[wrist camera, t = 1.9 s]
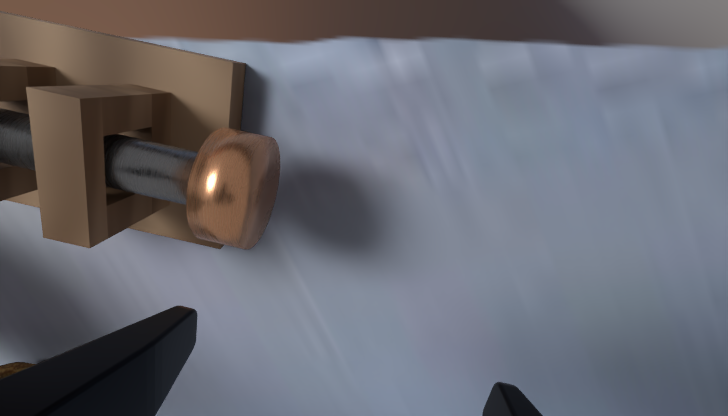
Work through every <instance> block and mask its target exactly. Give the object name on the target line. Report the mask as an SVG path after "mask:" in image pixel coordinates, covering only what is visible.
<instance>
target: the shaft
mask: <svg viewBox="0 0 728 416" xmlns="http://www.w3.org/2000/svg"><path fill="white" fill-rule="evenodd" d="M103 141H104V162H105V183H106V187H110V188H114V189H118V190H123V191H127V192H132V193H136V194H141V195H145V196H149V197H154V198H158V199H163V200H167V201H172V202H176V203H180V204H185V205H186V212H187V220H188V224H189V227H190V229H191V231H192V233H193V234H194V236H196V237H197V238H199V239H202V240H207V241H211V242H216V243H220V244H224V245H229V246H233V247H237V248H242V249H250V248H252V247H253V246H254V245H255V244H256V243H257V242H258V241H259V239H260V237H261V236H262V234H263V232H264V230H265V228H266V226H267V224H268V221H269V218H270V216H271V213H272V210H273V206H274V202H275V199H276V194H277V189H278V183H279V175H280V153H279V147H278V144H277V142H276V140H275V139H274V138H272V137H268V136H263V135H258V134H254V133H249V132H245V131H240V130H236V129H231V128H226V127H222V128H219V129H217V130H215V131H214V132H213V133H212V134H210V135H209V137H208V138H207V139H206V140H205V142H204V143H203V145H202V146H201V148H200V150H199V152H197V151H192V150H188V149H183V148H179V147H174V146H170V145H165V144H161V143H156V142H152V141H147V140H143V139H138V138H134V137H129V136H125V135H120V134H112V135H107V136H103ZM0 163H3V164H8V165H12V166H17V167H21V168H25V169H30V170H34V171H36V170H35V161H34V152H33V144H32V135H31V126H30V118H29V114H25V113H21V112H16V111H12V110H7V109H3V108H0Z"/></svg>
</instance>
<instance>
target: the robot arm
mask: <svg viewBox="0 0 728 416" xmlns="http://www.w3.org/2000/svg"><path fill="white" fill-rule="evenodd" d="M196 331H197V312H196V310H195V309H192V308H188V307H184V306H175V307H173V308H170V309H168V310H165V311H163V312H160V313H158V314H156V315H153V316H151V317H148V318H146V319H144V320H141V321H139V322H136V323H134V324H132V325H129V326H127V327H124V328H122V329H120V330H117V331H115V332H112V333H110V334H108V335H105V336H103V337H100V338H98V339H96V340H93V341H91V342H88V343H86V344H84V345H81V346H79V347H76V348H74V349H72V350H69V351H67V352H64V353H62V354H60V355H57V356H55V357H52V358H50V359H48V360H45V361H43V362H40V363H38V364H36V365H33V366H31V367H28V368H26V369H24V370H21V371H19V372H16V373H14V374H12V375H9V376H7V377H4V378H2V379H0V416H155V415H156V413H157V412H158V410H159V408H160V407H161V405H162V403H163V401H164V400H165V398H166V396H167V394H168V393H169V391H170V389H171V387H172V385H173V384H174V382H175V380H176V378H177V377H178V375H179V373H180V371H181V370H182V368H183V366H184V364H185V363H186V361H187V359H188V357H189V355H190V354H191V352H192V350H193V348H194V345H195V342H196ZM482 416H542V414H541V413H540V412H539V411H538V410H537V409H536V408H535V407H534V405H533V404H532V403H531V402H530V401H529V400H528V399H527V398H526V396H525V395H524V394H523V393H522V392H521V391H520V390H519V389H518V388H517V387H516V386H514V385H510V384H506V383H502V382H497V383H495V384H494V386H493V388H492V390H491V393H490V395H489V397H488V400H487V402H486V405H485V407H484V410H483V415H482Z"/></svg>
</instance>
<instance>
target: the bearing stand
mask: <svg viewBox="0 0 728 416" xmlns="http://www.w3.org/2000/svg"><path fill="white" fill-rule="evenodd" d="M245 67H246V63H241V62H236V61H232V60H227V59H222V58H218V57H213V56H208V55H204V54H199V53H194V52H190V51H185V50H180V49H176V48H171V47H166V46H162V45H157V44H152V43H148V42H143V41H138V40H134V39H129V38H124V37H120V36H115V35H110V34H105V33H100V32H96V31H92V30H87V29H82V28H78V27H73V26H68V25H63V24H59V23H54V22H50V21H45V20H40V19H36V18H31V17H26V16H21V15H17V14H12V13H8V12H2V11H0V108H3V109H7V110H12V111H16V112H21V113H25V114H29V118H30V126H31V135H32V144H33V152H34V161H35V170H36V171H34V170H30V169H25V168H21V167H17V166H12V165H8V164H3V163H0V201H2V200H8V201H12V202H17V203H21V204H25V205H30V206H34V207H39V208H40V213H41V222H42V230H43V238H48V239H52V240H56V241H61V242H65V243H69V244H74V245H78V246H82V247H87V248H91V247H93V246H95V245H97V244H99V243H100V242H102V241H104V240H106V239H108V238H110V237H111V236H113V235H115V234H117V233H119V232H121V231H122V230H124V229H126V228H130V229H135V230H139V231H143V232H148V233H152V234H157V235H161V236H165V237H170V238H174V239H178V240H183V241H187V242H192V243H196V244H200V245H205V246H209V247H213V248H218V249H221V248H222V247H223V246H224V244H220V243H216V242H211V241H207V240H202V239H199V238H197V237H196V236H194V234H193V233H192V231H191V229H190V227H189V224H188V220H187V212H186V205H185V204H180V203H176V202H172V201H167V200H163V199H158V198H154V197H149V196H145V195H141V194H136V193H132V192H127V191H123V190H118V189H114V188H110V187H106V183H105V162H104V141H103V136H107V135H112V134H120V135H125V136H129V137H134V138H138V139H143V140H147V141H152V142H156V143H161V144H165V145H170V146H174V147H179V148H183V149H188V150H192V151H197V152H199V150H200V148H201V146H202V145H203V143H204V142H205V140H206V139H207V138H208V137H209V135H210V134H212V133H213V132H214V131H215V130H217V129H219V128H222V127H226V128H231V129H236V130H240V128H241V116H242V104H243V91H244V79H245Z"/></svg>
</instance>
